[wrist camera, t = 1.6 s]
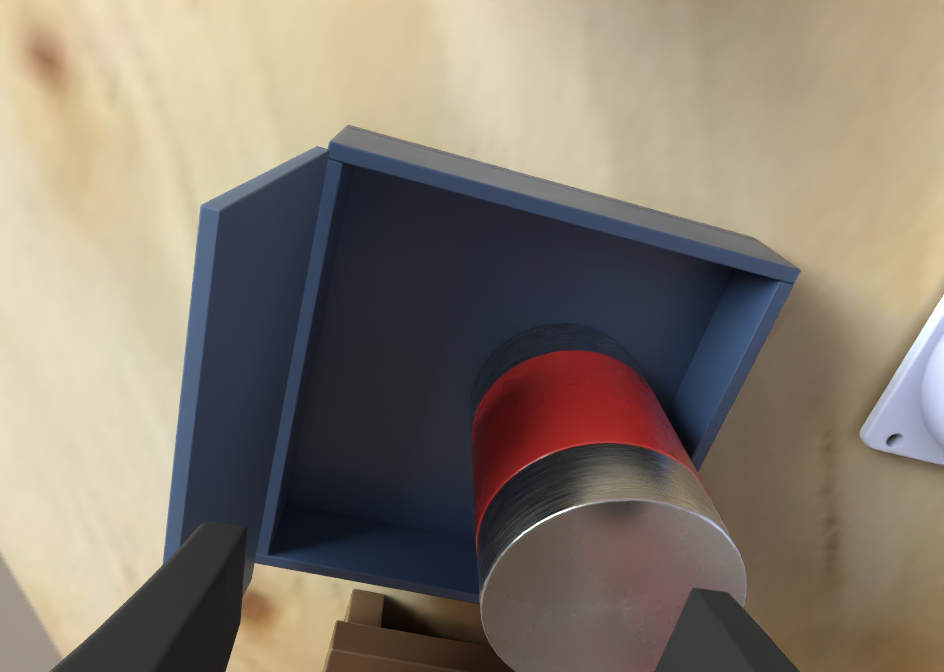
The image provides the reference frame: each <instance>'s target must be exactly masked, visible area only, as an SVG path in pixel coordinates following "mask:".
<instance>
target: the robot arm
mask: <svg viewBox="0 0 944 672" xmlns="http://www.w3.org/2000/svg"><path fill="white" fill-rule="evenodd" d="M859 434H860V439H861V440H862V441H863V442H864V443H865V444H866V445H867V446H868V447H869V448H871V449H875V450H879V451H883V452H887V453H892V454H896V455H900V456H904V457H909V458H913V459H917V460H921V461H926V462H930V463H934V464H938V465H943V466H944V295H943V297H942V298H941V300H940V301H939V303H938V305H937V306H936V308H935V310H934V311H933V313H932V314H931V316H930V318H929V319H928V321H927V323H926V324H925V326H924V327H923V329H922V331H921V332H920V334H919V335H918V337H917V339H916V340H915V342H914V344H913V345H912V347H911V348H910V350H909V352H908V353H907V355H906V357H905V358H904V360H903V361H902V363H901V365H900V366H899V368H898V370H897V371H896V373H895V374H894V376H893V378H892V379H891V381H890V382H889V384H888V386H887V387H886V389H885V391H884V392H883V394H882V395H881V397H880V399H879V400H878V402H877V404H876V405H875V407H874V408H873V410H872V412H871V413H870V415H869V416H868V418H867V420H866V421H865V423H864V425H863V426H862V428H861V430H860V433H859ZM893 434H895V435H894V436H893V437H892V438H891V439H889V440H887V439H888V438H889V437H890V436H891V435H893ZM246 537H247V526H239V525H232V524H224V523H217V522H210V521H206V522H204V523H203V524H201V525H200V526H198V527H197V529H196V530H195V531H194V532H193V533H192V534H191V535H190V536H189V538H188V539H187V540H186V541H185V542H184V543H183V544H182V545H181V546H180V547H179V548H178V550H177V551H176V552H175V553H174V554H173V555H172V556H171V557H170V558H169V559H168V560H167V561H166V562H165V563H164V564H163V565H162V566H161V567H160V569H159V570H158V571H157V572H156V573H155V574H154V575H153V576H152V577H151V578H150V579H149V580H148V581H147V582H146V583H145V584H144V585H143V586H142V587H141V588H140V589H139V590H138V591H137V592H136V593H135V594H134V595H133V596H132V597H130V598H129V599H128V600H127V601H126V602H125V603H124V604H123V605H122V606H121V607H120V608H119V609H118V610H117V611H116V612H115V613H114V614H113V615H112V616H111V617H110V618H109V619H108V620H106V621H105V622H104V623H103V624H102V625H101V626H100V627H99V628H98V629H97V630H96V631H95V632H94V633H93V634H92V635H90V636H89V637H88V638H87V639H86V640H85V641H84V642H83V643H82V644H80V645H79V646H78V647H77V648H76V649H75V650H74V651H72V652H71V653H70V654H69V655H68V656H67V657H66V658H64V659H63V660H62V661H61V662H60V663H59V664H58V665H56V666H55V667H54V668H53V669H52V670H51V671H50V672H225V671H226V668H227V665H228V661H229V658H230V655H231V652H232V648H233V645H234V642H235V638H236V635H237V632H238V628H239V625H240V620H241V606H242V592H243V578H244V565H245V551H246ZM654 672H800V671H799V670H798V669H797V668H796V667H795V666H794V665H793V663H792V662H791V661H790V660H789V659H788V658H787V657H786V656H785V654H784V653H783V652H782V651H781V650H780V649H779V648H778V647H777V645H776V644H775V643H774V642H773V641H772V640H771V639H770V638H769V636H768V635H767V634H766V633H765V632H764V631H763V630H762V629H761V627H760V626H759V625H758V624H757V623H756V622H755V621H754V620H753V619H752V617H751V616H750V615H749V614H748V613H747V612H746V611H745V610H744V609H743V608H742V606H741V605H740V604H739V603H738V602H737V601H736V600H735V599H734V598H733V597H732V596H731V595H730V594H729V593H728V592H723V591H716V590H709V589H701V588H694V587H693V588H692V590H691V592H690V594H689V597H688V599H687V601H686V603H685V605H684V608H683V610H682V612H681V614H680V616H679V619H678V621H677V623H676V625H675V627H674V629H673V632H672V634H671V636H670V638H669V640H668V643H667V645H666V647H665V649H664V651H663V653H662V656H661V658H660V660H659V662H658V664H657V667H656V669H655V671H654Z"/></svg>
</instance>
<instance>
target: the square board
mask: <svg viewBox="0 0 944 672" xmlns="http://www.w3.org/2000/svg"><path fill="white" fill-rule="evenodd" d="M383 605H384V595H383V594H378V593H372V592H367V591H361V590H356V589H354V590H353V591H352V594H351V598H350V601H349V605H348V609H347V613H346V616H345V620H344V621H339V620H338V621H336V623H335V627H334V631H333V634H332V638H331V642H330V646H329V650H328V653H327V657H326V661H325V665H324V669H323V672H516V671H514V670H513V669H512V668H511V667H509V666H508V665H507V664H506V663H505V662H504V661H503V660H502V659H501V658H500V657H499V656H498V655H497V653H496V652H495V650H494V649H493V647H489V646H483V645H477V644H472V643H466V642H460V641H454V640H449V639H443V638H437V637H431V636H426V635H420V634H414V633H408V632H403V631H397V630H391V629H385V628H381V621H382V613H383Z"/></svg>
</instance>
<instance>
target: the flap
mask: <svg viewBox="0 0 944 672" xmlns="http://www.w3.org/2000/svg"><path fill="white" fill-rule="evenodd" d="M328 156H329V150H328V149H325V148H321V147H318V146H317V147H315V148H313V149H311V150H309V151H307V152H305V153H303V154H301V155H299V156H297V157H295V158H293V159H291V160H289V161H287V162H285V163H283V164H281V165H279V166H277V167H275V168H273V169H271V170H269V171H267V172H265V173H263V174H261V175H259V176H257V177H255V178H253V179H251V180H249V181H247V182H246V183H244V184H242V185H240V186H238V187H236V188H234V189H232V190H230V191H228V192H226V193H224V194H222V195H220V196H218V197H216V198H214V199H212V200H210V201H208V202H206V203H204V204H202V205H201V207H200V216H199V226H198V235H197V245H196V254H195V264H194V273H193V283H192V292H191V301H190V311H189V320H188V330H187V339H186V349H185V358H184V368H183V377H182V387H181V396H180V405H179V415H178V424H177V434H176V443H175V453H174V462H173V472H172V481H171V491H170V500H169V509H168V519H167V528H166V538H165V547H164V557H163V564H164V563H165V562H166V561H167V560H168V559H169V558H170V557H171V556H172V555H173V554H174V553H175V552H176V551H177V550H178V548H179V547H180V546H181V545H182V544H183V543H184V542H185V541H186V540H187V539H188V538H189V536H190V535H191V534H192V533H193V532H194V531H195V530H196V529H197V527H198V526H200V525H201V524H203V523H204V522H206V521H210V522H217V523H224V524H232V525H239V526H247V537H246V551H245V565H244V578H243V592H242V598H243V596H244V593H245V591H246V589H247V587H248V585H249V583H250V581H251V579H252V574H253V568H254V563H255V557H256V552H257V546H258V541H259V535H260V530H261V524H262V519H263V514H264V508H265V503H266V497H267V492H268V486H269V481H270V475H271V470H272V464H273V459H274V453H275V448H276V442H277V437H278V431H279V426H280V420H281V415H282V409H283V404H284V398H285V393H286V387H287V382H288V376H289V371H290V365H291V360H292V354H293V349H294V343H295V338H296V332H297V327H298V321H299V316H300V310H301V305H302V299H303V294H304V288H305V283H306V277H307V272H308V266H309V261H310V255H311V250H312V244H313V239H314V233H315V228H316V222H317V217H318V211H319V206H320V200H321V195H322V189H323V184H324V178H325V173H326V167H327V162H328Z"/></svg>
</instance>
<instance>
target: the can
mask: <svg viewBox="0 0 944 672" xmlns="http://www.w3.org/2000/svg"><path fill="white" fill-rule="evenodd" d="M470 408H471V452H472V475H473V497H474V520H475V542H476V555H477V559H478V578H479V599H480V615H481V622H482V626H483V629H484V632H485V634H486V637H487V639H488V641H489V643H490V644H491V646H492V647H493V649H494V650H495V652H496V653H497V655H498V656H499V657H500V658H501V659H502V660H503V661H504V662H505V663H506V664H507V665H508V666H509V667H511V668H512V669H513V670H514V671H516V672H654V671H655V669H656V667H657V664H658V662H659V660H660V658H661V656H662V653H663V651H664V649H665V647H666V645H667V643H668V640H669V638H670V636H671V634H672V632H673V629H674V627H675V625H676V623H677V621H678V619H679V616H680V614H681V612H682V610H683V608H684V605H685V603H686V601H687V599H688V597H689V594H690V592H691V590H692V588H693V587H694V588H701V589H709V590H716V591H723V592H728V593H729V594H730V595H731V596H732V597H733V598H734V599H735V600H736V601H737V602H738V603H739V604H740V605H741V606H742V608H744V605H745V600H746V594H747V575H746V570H745V565H744V562H743V559H742V557H741V554H740V552H739V550H738V548H737V546H736V544H735V543H734V541H733V539H732V537H731V535H730V533H729V532H728V530H727V528H726V526H725V524H724V523H723V521H722V519H721V517H720V515H719V513H718V512H717V510H716V508H715V506H714V504H713V502H712V500H711V497H710V495H709V493H708V490H707V489H706V487H705V485H704V483H703V481H702V480H701V478H700V476H699V474H698V472H697V470H696V469H695V467H694V465H693V463H692V461H691V460H690V458H689V456H688V454H687V452H686V451H685V449H684V447H683V445H682V443H681V441H680V440H679V438H678V436H677V434H676V432H675V431H674V429H673V427H672V425H671V423H670V422H669V420H668V418H667V416H666V414H665V412H664V411H663V409H662V407H661V405H660V403H659V402H658V400H657V398H656V396H655V394H654V393H653V391H652V389H651V388H650V386H649V385H648V384H647V382H646V380H645V378H644V377H643V375H642V373H641V371H640V369H639V367H638V366H637V364H636V362H635V361H634V359H633V357H632V356H631V355H630V353H629V352H628V351H627V350H626V349H625V348H624V347H623V346H622V345H621V344H620V343H619V342H618V341H616V340H615V339H613V338H612V337H610V336H609V335H607V334H605V333H603V332H600V331H598V330H596V329H592V328H589V327H586V326H580V325H575V324H551V325H545V326H540V327H536V328H533V329H530V330H527V331H525V332H522V333H520V334H518V335H516V336H514V337H513V338H511V339H509V340H508V341H506V342H505V343H503V344H502V345H501V346H500V347H498V348H497V349H496V350H495V351H494V352H493V353H492V354H491V355H490V356H489V357H488V359H487V360H486V361H485V363H484V364H483V365H482V367H481V369H480V371H479V372H478V374H477V376H476V379H475V381H474V384H473V388H472V392H471V401H470Z"/></svg>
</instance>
